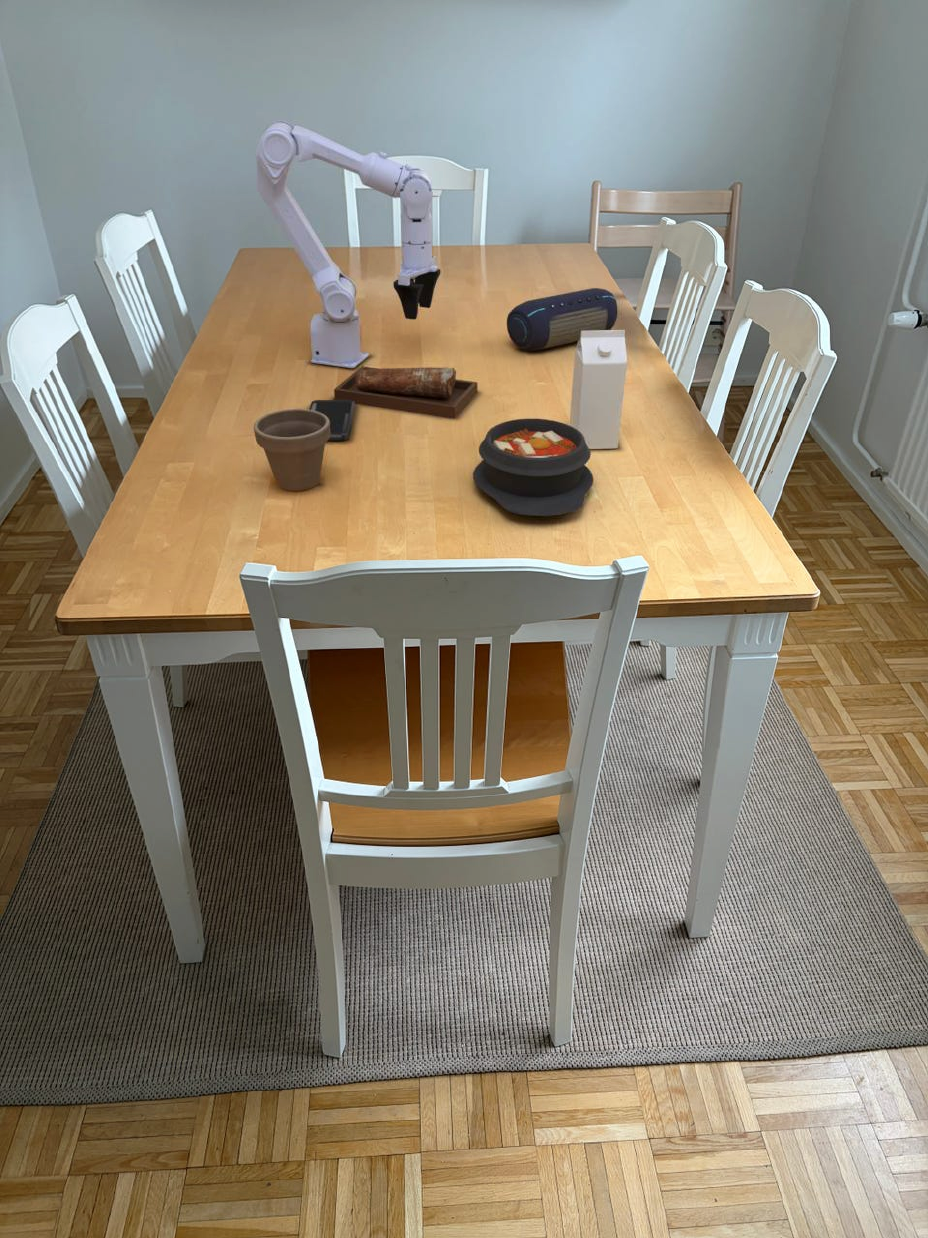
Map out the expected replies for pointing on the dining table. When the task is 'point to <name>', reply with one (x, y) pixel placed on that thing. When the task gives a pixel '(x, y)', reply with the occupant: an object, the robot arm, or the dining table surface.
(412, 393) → the brown cylinder
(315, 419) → the flower pot
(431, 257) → the robot arm
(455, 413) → the tray
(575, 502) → the casserole
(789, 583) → the dining table surface
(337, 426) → the phone
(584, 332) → the milk carton
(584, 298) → the portable speaker
